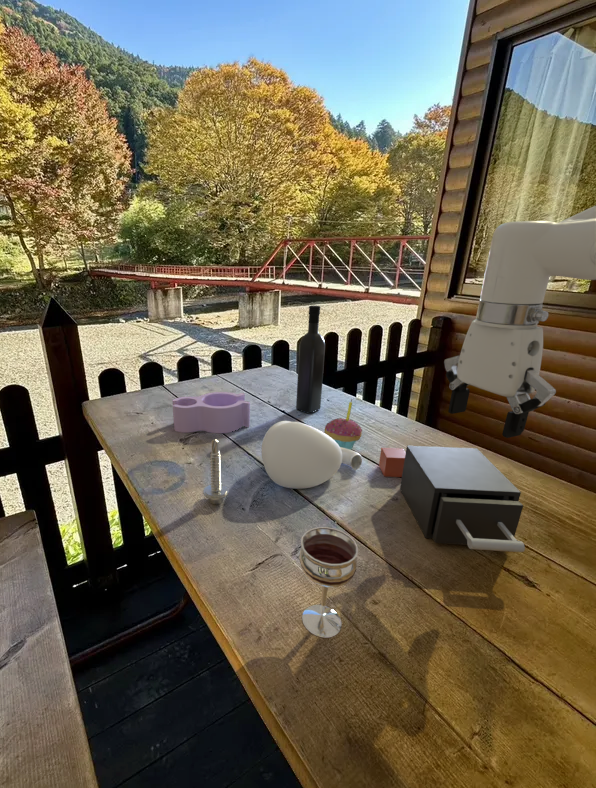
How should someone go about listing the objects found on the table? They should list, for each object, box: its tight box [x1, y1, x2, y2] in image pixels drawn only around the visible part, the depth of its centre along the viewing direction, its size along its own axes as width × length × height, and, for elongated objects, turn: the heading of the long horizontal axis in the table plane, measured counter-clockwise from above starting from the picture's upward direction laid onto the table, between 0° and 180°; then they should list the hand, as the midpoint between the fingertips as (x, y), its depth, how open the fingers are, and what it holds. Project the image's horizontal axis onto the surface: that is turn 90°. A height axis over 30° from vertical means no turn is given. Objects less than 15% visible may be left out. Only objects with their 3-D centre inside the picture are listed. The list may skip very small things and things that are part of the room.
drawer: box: [432, 493, 526, 553], centre depth 67 cm, size 19×11×8 cm, turn 174°
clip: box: [172, 391, 251, 434], centre depth 110 cm, size 20×12×7 cm, turn 100°
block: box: [378, 447, 406, 478], centre depth 86 cm, size 4×4×4 cm
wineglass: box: [298, 526, 359, 639], centre depth 51 cm, size 7×7×12 cm
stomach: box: [260, 420, 363, 490], centre depth 90 cm, size 23×13×24 cm
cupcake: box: [323, 398, 363, 450], centre depth 95 cm, size 9×8×12 cm
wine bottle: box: [295, 305, 326, 413], centre depth 115 cm, size 6×6×30 cm
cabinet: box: [399, 445, 522, 539], centre depth 72 cm, size 15×13×10 cm
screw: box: [202, 438, 230, 505], centre depth 76 cm, size 13×5×5 cm
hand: (482, 423), depth 65 cm, fingers open, 9 cm apart
